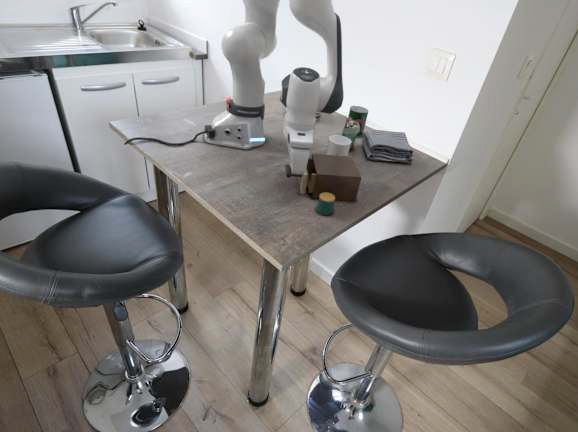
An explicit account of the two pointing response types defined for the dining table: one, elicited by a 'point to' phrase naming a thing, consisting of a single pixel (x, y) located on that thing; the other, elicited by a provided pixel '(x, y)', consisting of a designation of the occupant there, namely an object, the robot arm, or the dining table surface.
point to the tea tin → (325, 203)
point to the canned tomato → (358, 117)
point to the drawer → (305, 176)
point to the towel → (387, 146)
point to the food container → (351, 131)
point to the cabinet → (336, 176)
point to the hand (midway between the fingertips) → (293, 172)
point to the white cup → (338, 145)
